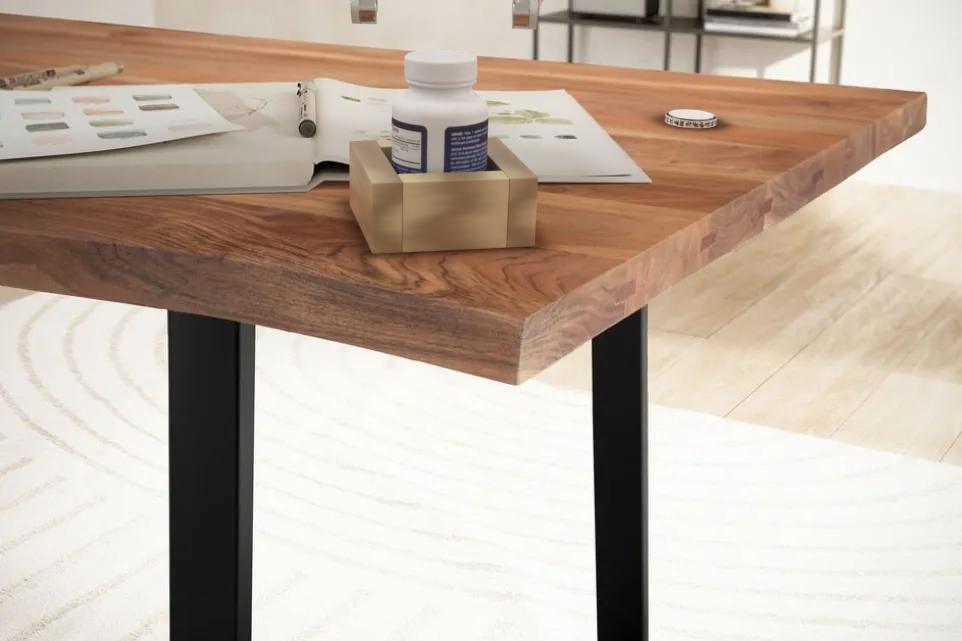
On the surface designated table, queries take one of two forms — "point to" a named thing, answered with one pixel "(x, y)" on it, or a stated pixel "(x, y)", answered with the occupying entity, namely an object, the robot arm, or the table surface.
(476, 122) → the pill bottle
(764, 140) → the table surface
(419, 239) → the holder
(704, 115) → the washi tape
